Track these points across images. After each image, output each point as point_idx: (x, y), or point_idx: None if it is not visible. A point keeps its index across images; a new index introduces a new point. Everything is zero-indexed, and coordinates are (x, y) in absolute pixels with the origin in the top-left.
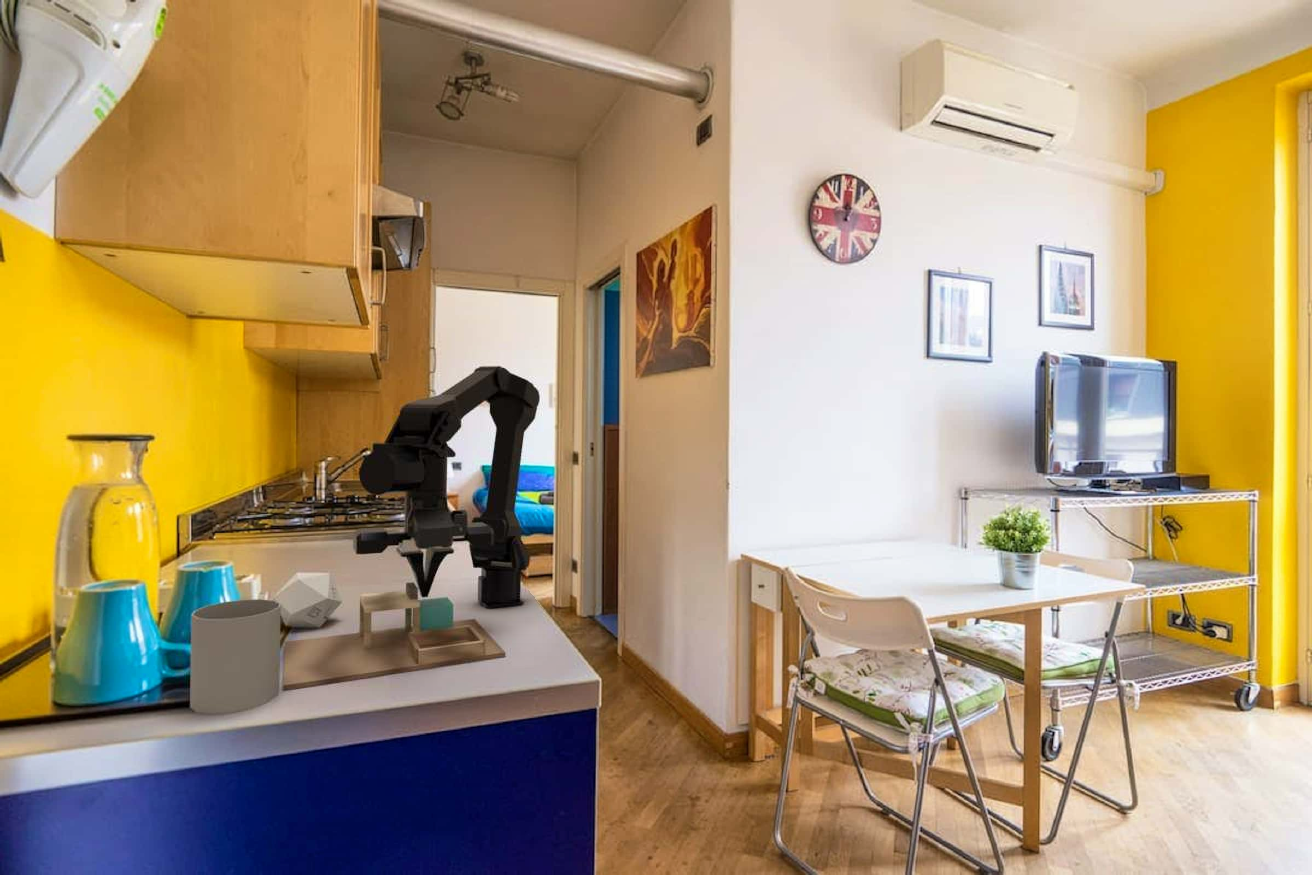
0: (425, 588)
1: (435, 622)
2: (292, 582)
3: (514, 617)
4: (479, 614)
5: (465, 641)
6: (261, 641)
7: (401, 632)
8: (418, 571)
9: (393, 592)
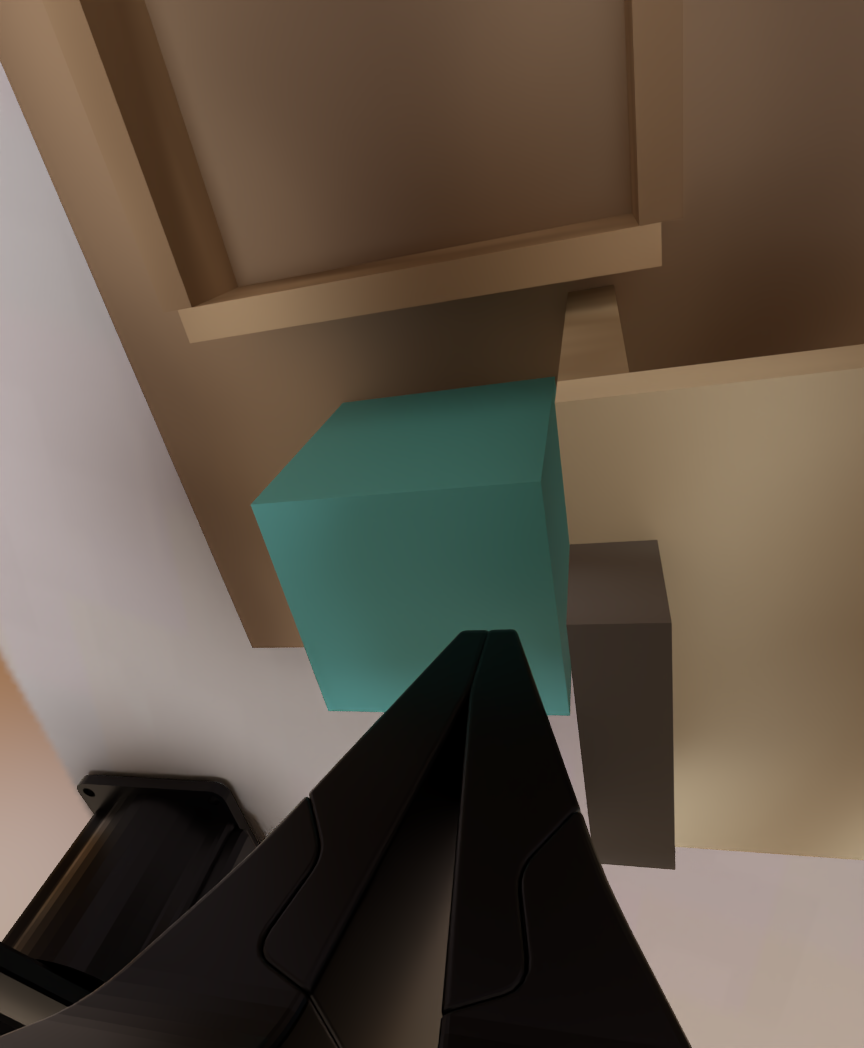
0: (472, 679)
1: (432, 429)
2: None
3: (85, 640)
4: (252, 732)
5: (247, 233)
6: None
7: None
8: (547, 879)
9: (775, 828)
